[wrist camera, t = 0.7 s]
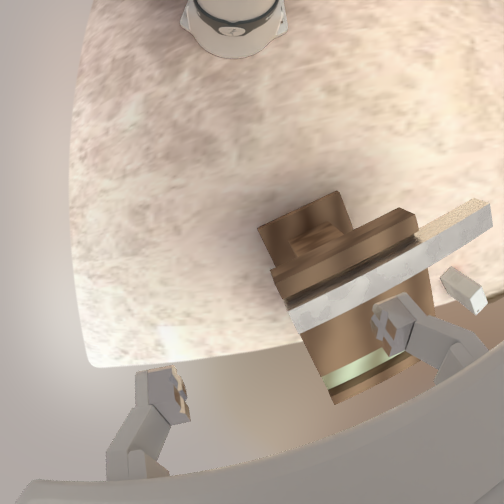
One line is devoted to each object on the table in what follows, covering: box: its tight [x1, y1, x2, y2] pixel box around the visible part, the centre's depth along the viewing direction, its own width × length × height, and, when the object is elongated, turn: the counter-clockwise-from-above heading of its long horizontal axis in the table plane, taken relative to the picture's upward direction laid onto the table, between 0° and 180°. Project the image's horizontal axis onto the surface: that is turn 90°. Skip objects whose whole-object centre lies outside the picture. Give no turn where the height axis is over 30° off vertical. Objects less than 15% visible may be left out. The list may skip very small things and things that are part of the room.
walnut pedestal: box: [257, 191, 435, 405], centre depth 46 cm, size 16×20×28 cm
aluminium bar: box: [283, 198, 493, 334], centre depth 31 cm, size 26×3×3 cm, turn 115°
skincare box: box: [440, 267, 488, 315], centre depth 59 cm, size 6×4×12 cm
